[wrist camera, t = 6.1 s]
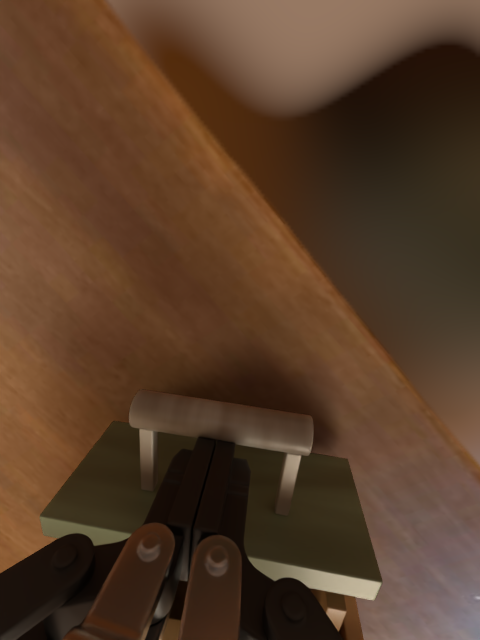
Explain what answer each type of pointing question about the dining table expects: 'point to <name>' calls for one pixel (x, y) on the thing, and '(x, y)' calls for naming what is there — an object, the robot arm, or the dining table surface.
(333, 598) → the drawer
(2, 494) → the dining table surface
